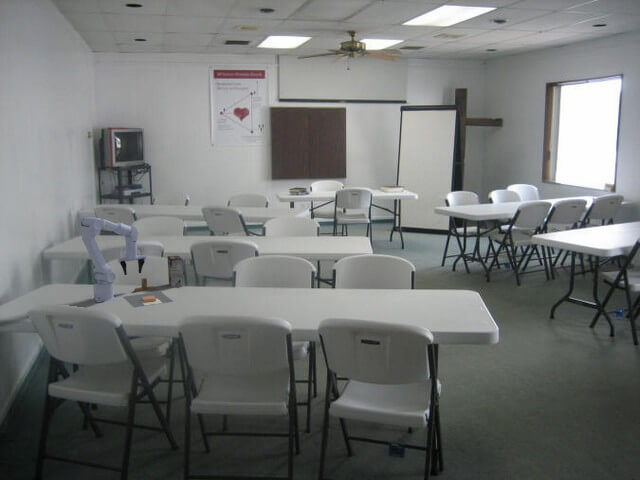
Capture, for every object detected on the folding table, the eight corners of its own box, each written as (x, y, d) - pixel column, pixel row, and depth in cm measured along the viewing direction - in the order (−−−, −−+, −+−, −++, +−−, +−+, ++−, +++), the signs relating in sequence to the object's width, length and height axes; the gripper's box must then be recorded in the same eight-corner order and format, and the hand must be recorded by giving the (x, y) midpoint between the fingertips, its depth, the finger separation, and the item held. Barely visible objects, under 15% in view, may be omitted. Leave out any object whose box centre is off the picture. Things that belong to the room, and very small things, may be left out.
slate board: (134, 308, 302) (133, 307, 302) (122, 297, 320) (122, 296, 320) (173, 302, 312) (173, 301, 312) (160, 292, 331) (160, 291, 330)
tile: (143, 302, 310) (143, 299, 309) (142, 299, 315) (141, 296, 315) (155, 301, 312) (155, 298, 312) (153, 298, 318) (153, 295, 317)
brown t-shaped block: (136, 292, 330) (135, 280, 329) (134, 291, 332) (134, 279, 331) (154, 290, 336) (153, 277, 335) (152, 289, 338) (152, 276, 337)
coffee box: (168, 284, 349) (167, 256, 346) (179, 282, 351) (178, 255, 348) (171, 287, 340) (170, 259, 338) (183, 286, 343) (182, 258, 340)
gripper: (143, 246, 335) (144, 270, 337) (115, 249, 327) (117, 273, 330) (146, 248, 329) (147, 273, 331) (119, 251, 321) (120, 276, 324)
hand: (132, 273), depth 330 cm, fingers open, 7 cm apart
